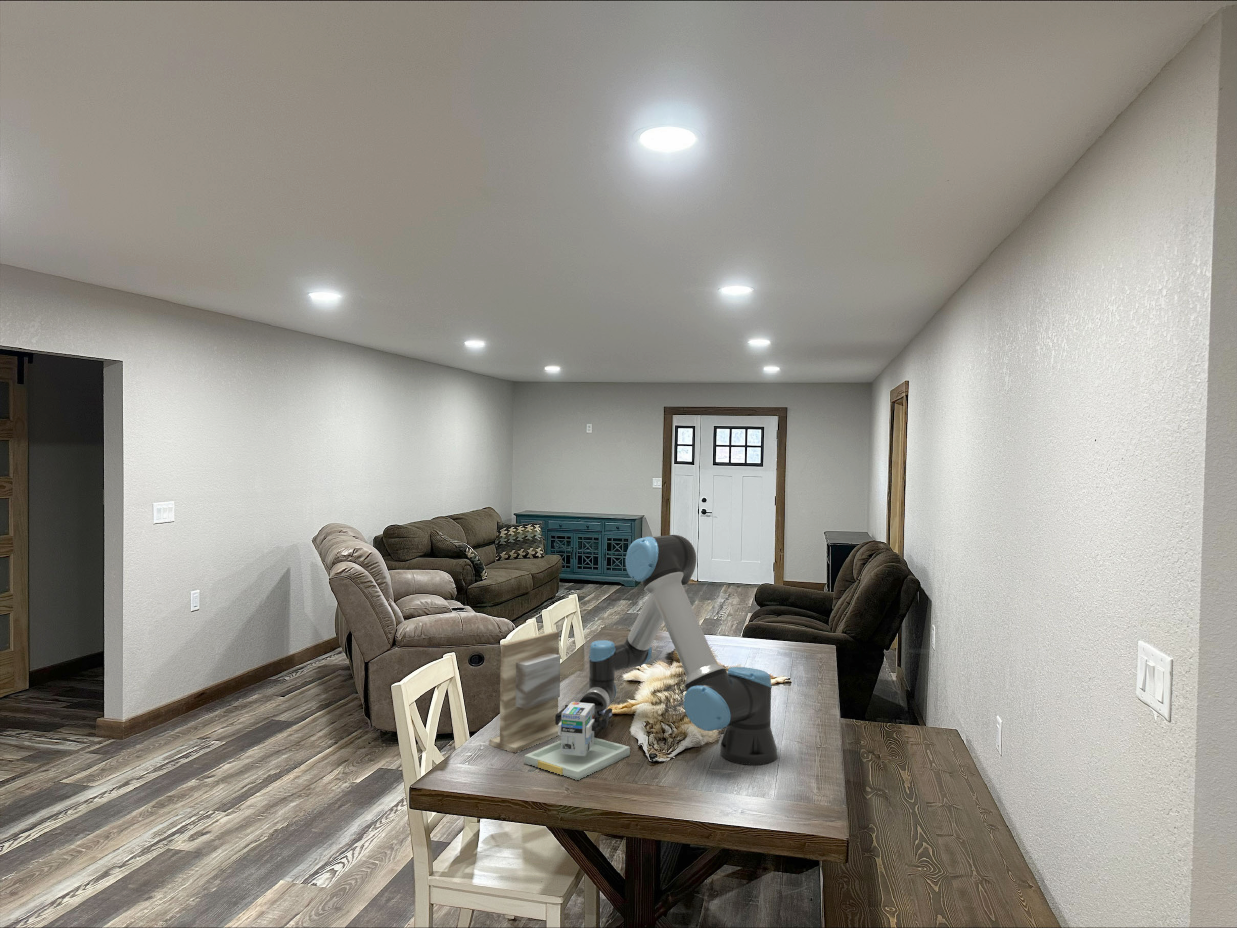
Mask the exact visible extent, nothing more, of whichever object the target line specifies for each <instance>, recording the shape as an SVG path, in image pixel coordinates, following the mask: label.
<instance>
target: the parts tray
mask: <svg viewBox="0 0 1237 928" xmlns="http://www.w3.org/2000/svg"><path fill="white" fill-rule="evenodd" d="M630 756H631V746H628V745H625V744H621V743H617V742H614V741H613V742H612V741H610V740H606V739H602V738H598V737H595V736H594V744H593V745H592V747H591V748H590V749H589V751H588V752H587V754H586V755H585V756H579V755H568V754H561V739H560V740H559V741H556V742H553V743H550V744H549V745H545V746H544V747H541V748H539V749H536V750H534V751H532V752H530V753H527V754H524V762H523V764H524V763H525V764H524V765H526V764H528V765H527V766H530V765H532V766H531V767H533V766H535V767H534V768H536V767H538V768H537V769H539V768H541V769H540V770H542V769H544V770H543V771H545V770H548V771H550V772H549V773H551V772H554V773H553V774H555V773H557V774H556V775H558V774H560V775H559V776H561V775H564V776H567V777H570V778H573V779H575V780H574V781H577V780H579V781H581V780H582V779H581V778H583V777H585V778H586V776H587V775H589V776H590V774H591V775H593V774H595V773H597V772H599V771H601V770H603V769H605V768H607V767H609V766H611V765H613V764H615V763H617V762H618V761H619V762H620V761H621V760H623V759H625V758H627V757H630ZM548 771H547V772H548ZM596 771H597V772H596ZM594 772H595V773H594ZM592 773H593V774H592ZM564 776H563V777H564ZM567 777H566V778H567ZM587 777H588V776H587ZM570 778H569V779H570ZM573 779H572V780H573ZM580 779H581V780H580ZM583 779H584V778H583Z"/></svg>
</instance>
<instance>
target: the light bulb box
mask: <svg viewBox="0 0 1237 928" xmlns="http://www.w3.org/2000/svg"><path fill="white" fill-rule="evenodd" d="M567 705H568V707H567V708H566V709H565V710H564V711H563V712H562V713H561V735H560V737H561V739H560V740H561V754H568V755H579V756H585V755H586V754H587V752H588V751H589V749H590V748H591V747H592V745H593V744H594V737H595V731H593V732H592V734H591V735H590V736H589V738H586V726H587V725H588V723H589V722H590V721H591V719H594V712H595V704H591V703H580V701H571V702H570V703H569V704H567Z"/></svg>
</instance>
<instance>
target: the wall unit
mask: <svg viewBox="0 0 1237 928" xmlns="http://www.w3.org/2000/svg"><path fill="white" fill-rule="evenodd" d="M559 647H560V632H559V631H555V630H554V631H553V630H552V631H548V632H544V633H541V634H537V635H534V636H529V637H525V638H521V639H518V640H513V641H509V642H506V643H505V642H504V643H502V644H500V669H499V670H500V672H499V674H500V677H499V678H500V685H499V690H500V692H499V695H500V696H499V736H496V737H495V736H494V737H493V738H490V739H489V741H488V742H489V744H488V745H489V746H491V747H494V748H497V749H501V750H503V749H504V751H506V750H507V752H510V751H511V752H510V753H513V752H515V753H514V754H517V753H516V752H518V751H520V752H522V751H521V750H523V751H525V750H527V749H529V747H530V748H532V747H535V746H536V744H537V745H539V743H540V744H542V743H545V742H547V741H549V740H552V739H554V738H556V736H557V737H559V736H558V725H556V724H555V715H556V714H557V713H559V698H560V695H561V655H560V648H559ZM551 738H552V739H551ZM534 745H535V746H534ZM531 746H532V747H531ZM526 748H527V749H526ZM524 749H525V750H524ZM518 753H519V752H518Z"/></svg>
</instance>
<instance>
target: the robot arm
mask: <svg viewBox="0 0 1237 928" xmlns="http://www.w3.org/2000/svg"><path fill="white" fill-rule="evenodd" d="M696 552H697V551H696V550H695V547H694V545H693V544H692V543H691V542H690V540H689V539H687V538H686V537H684V536H682V535H680V534H679V535H677V534H669V535H658V536H657V535H656V536H645V537H640V538H637V539H636V540H634V541H632V543H631V544H630V545H629V546H628V549H627V551H626V555H625V569H626V572H627V574H628V575H629V576H630V578H631V579H633V580H634V581H636V582H640V583H641V585H642V587H643V590H644V592H646V593H649V594H648V596H647V598H646V600H645V603H643V606H642V608H641V610H640V612H639V613H638V616H637V617H636V619H635V622H634V624H633V626H632V627H631V630H630V631H629V633H628V635H627V637H626V638H625V641H624V643H621V644H615V643H614V642H613V641H611V640H606V639H605V640H604V639H602V640H595V641H593V642H591V643H590V645H589V655H588V659H589V660H588V662H589V664H588V666H589V669H588V670H589V671H588V672H589V676H588V678H589V679H588V690H587V692H586V693H585V694H584V695H583V696H582V697H581V699H580V700H579V702H580V703H591V704H595V712H594V719H591V721H590V722H589V723H588V725H587V726H586V738H589V736H590V735H591V734H592V732H593V731H594V732H597V731H598V730H599V729H600V728H601V729H603V730H605V729H607V727H608V724H609V721H610V720H612V719H613V708H611V707H610V708H609V706H610V705H612V703H613V702H614V701H615V698H616V696H617V691H618V690H617V685H616V684H615V675H616V674H615V673H616V672H618V671H623V670H627V669H631V668H635V667H636V668H637V667H642V666H643V665H645V664H648V663H649V662H650V661H651V659H652V653H653V652H652V651H653V650H652V647H651V645H652V643H653V642H654V640H655V638H656V637H657V634H658V633H659V631H660V628H661V627H662V625H663V624H664V625H665V626H664V627H665V628H666V630H667V633H668V634H669V637H670V639H671V642H672V645H673V647H674V649H675V652H676V654H677V656H678V658H679V661H680V664H681V665H682V668H683V671H684V673H685V675H686V679H685V682H684V688H685V691H686V692H685V694H684V697H683V700H684V701H683V709H684V713H685V714H686V717H687V718H688V719H689V721H690V722H691V723H692V724H693V725H694V726H695V727H696V728H698V729H700V730H702V731H704V732H713V731H718V730H719V731H720V730H723V729H724V728H725V729H724V733H723V736H722V738H721V741H720V745H719V746H720V750H719V753H720V756H721V757H722V758H723V759H725V760H728V761H730V762H732V763H737V764H741V765H750V766H752V765H753V766H754V765H766V764H769V763H773V762H775V761H776V760H777V758H778V747H777V744H776V741H775V737H774V735H773V731H772V727H771V726H772V725H771V720H772V717H771V716H772V713H771V712H772V709H771V708H772V689H773V688H772V681H771V679H772V677H771V675H770V673H768V672H767V671H764V670H762V669H758V668H753V667H745V666H731V667H729V668H728V669H726V667H724V666H722V665H719V664H718V663H717V662H716V659H715V657H714V655H713V652H712V650H711V647H710V645H709V643H708V640H707V639H706V638H707V637H706V635H705V633H704V631H703V628H702V627H701V625H700V622H699V620H698V618H697V616H696V613H695V610H694V608H693V606H692V604H691V602H690V599H689V597H688V595H687V593H686V591H685V588H684V587H685V586H687V585H688V584H689V582H690V580H691V578H692V577H693V574H694V572H695V569H696V565H697V553H696ZM568 705H569V704H565V705H564V707H563V708H562V709H561V710H560V711H558V713H557V714H556V715H555V724H556V725H558V735H559V736H561V713H562V712H563V711H564V710H565V709H566V708H567V707H568ZM600 719H601V720H600Z"/></svg>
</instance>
